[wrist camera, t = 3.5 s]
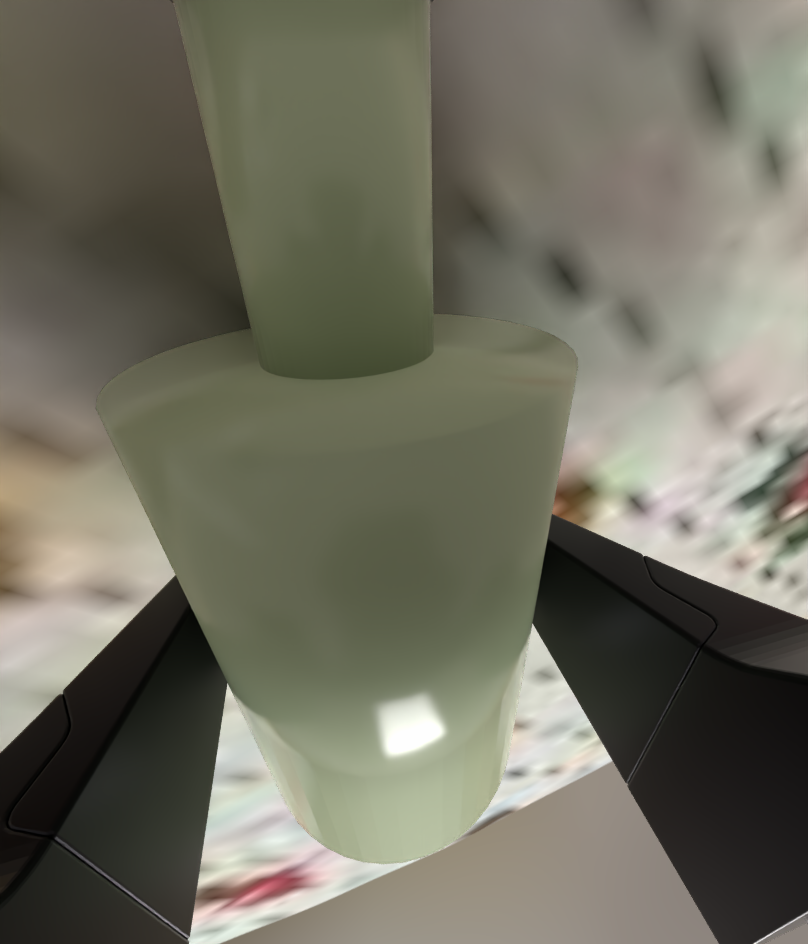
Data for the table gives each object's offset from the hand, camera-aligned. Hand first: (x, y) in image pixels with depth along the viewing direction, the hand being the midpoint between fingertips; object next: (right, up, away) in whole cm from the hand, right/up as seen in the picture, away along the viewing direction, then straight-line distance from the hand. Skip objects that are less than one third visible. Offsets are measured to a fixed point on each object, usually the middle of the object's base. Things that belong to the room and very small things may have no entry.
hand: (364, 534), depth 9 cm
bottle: (-1, +3, 0) cm, 3 cm away
